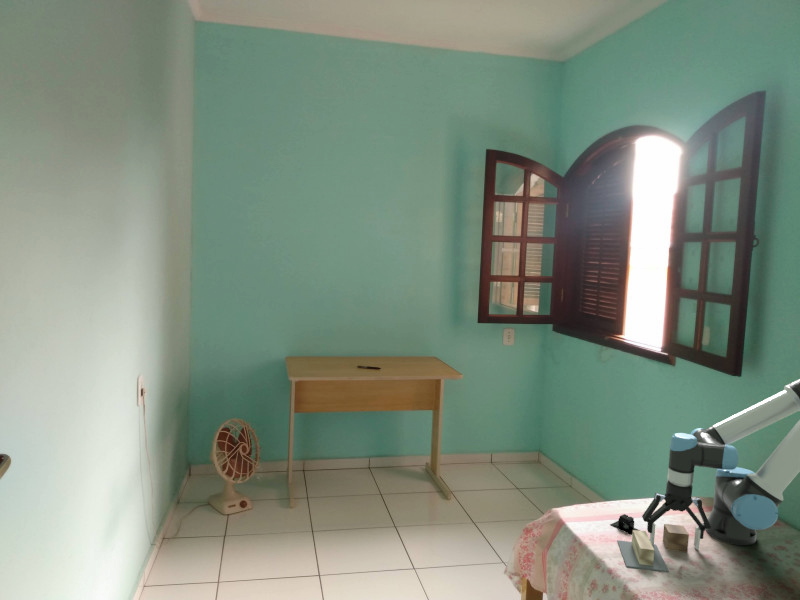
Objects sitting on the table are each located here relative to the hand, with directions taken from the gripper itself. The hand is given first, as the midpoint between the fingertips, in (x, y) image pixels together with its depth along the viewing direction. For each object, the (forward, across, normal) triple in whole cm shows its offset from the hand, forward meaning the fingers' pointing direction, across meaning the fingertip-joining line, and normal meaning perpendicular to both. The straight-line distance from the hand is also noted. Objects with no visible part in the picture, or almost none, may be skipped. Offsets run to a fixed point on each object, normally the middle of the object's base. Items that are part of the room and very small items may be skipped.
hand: (673, 545), depth 198 cm
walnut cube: (0, 0, 0) cm, 1 cm away
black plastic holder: (+1, +13, -10) cm, 16 cm away
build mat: (0, +12, +9) cm, 15 cm away
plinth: (0, +12, +9) cm, 15 cm away
